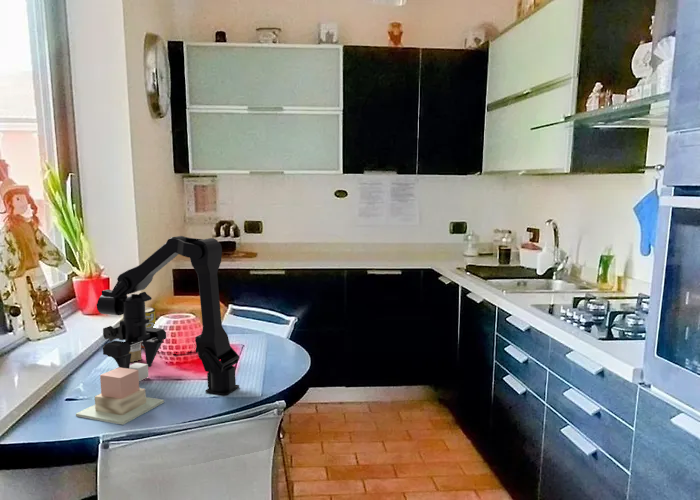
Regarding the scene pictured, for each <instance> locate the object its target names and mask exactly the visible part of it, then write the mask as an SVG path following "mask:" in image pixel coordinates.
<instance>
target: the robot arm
mask: <svg viewBox="0 0 700 500" xmlns="http://www.w3.org/2000/svg"><path fill="white" fill-rule="evenodd" d="M222 254H223V247H222V244H221V242H220V241H218V240H217V239H215V238H213V237H210V238H204V239H202V238H193V237H187V236H183V235H179V236H172V237H169V238H168V239H167V240H166V242H165V243H164V244H163V245H161V246H159V248H157V250H156V251H154V252H153V253H152V254H151V255H149V256H148V257H147V258H146V259H145V260H143V262H141V263H140V264H139V265H136V266H134V267H132V268H130V269H128V270H126V271H124V272H121V273H120V274H119V275H118V276H117V278H116V280H117V282H116V283H115V286H114V287H113V289H112V290H111V289H103V290H101V295H100V296H99V298H98V300H97V303H96V309H97V311H98V313H99V314H101V315H110V316H123V319H122V320H120V321H119V326H117V327H113V326H112V325H109V326H106V327H103V329H102V336H103V338H104V340H108V341H109V342H107V343H105V344H104V345H103V346H102V355H105V356H107V357H109V358H113V360H114V361H115V362H116V363H117V366H118V367H121V368H128V369H129V367H130V365H131V362H130V360H131V354H130V353H129V352H130V350H131V347H132V346H134V345H137V344H140V343H142V344H143V346H144V347H145V348H144V353H145V361H146V363H145V364H148V368H149V367H152V364H153V362H154V360H155V358H156V356H157V353H158V352H159V349H160V347H161V346H162V344H163V343H164V340H166V339H167V331H166V330H165V329H164V328H159V327H158V328H157V327H156V328H149V329H146V323H149V319H146V314H145V307H146V302H148V301H151V300H153V298H152V296H151V295H149V294H148V293H147V292H146V291H144V290H145V289H146V288H147V287H149V285H150V284H151V283H152V281H153V279H154V276H155V275H156V273H158V272H159V271H160V270H162V269H163V268H164V267H165V266H166V265H168V264H169V263H170V262H171V261H172V260H174V259H175V258H176V257H177V256H178V255H180V256H182V257H185V258H189V260H190V264H191V267H192V268H193V270H194V271H195V272H196V274H197V278H198V289H199V299H200V300H199V302H200V310H201V311H200V313H201V314H200V315H201V323H202V331H201V334H199V335H196V336H195V337H194V338H195V340H194V343H195V346H196V350H195V353H197V355H198V359H199V360H200V361H201V363H202V366H203V369H204V371H205V372H207V373H206V374H207V375H206V376H207V378H206V379H207V389H205V390H204V391H205V393H208V394H215V395H222V396H228V395H229V394H231V393H232V392H234V391H235V390H237V389H239V388H240V385H239V384H236V381H237V379H236V366H234V365H236V364H238V363H239V359H240V355H239V354H238V352H237V351H235V349H234V348H233V347H232V346H231V343H230V339H229V336H228V334H227V332H226V331H225V330H226V329H224V327H223V323H222V313H221V301H220V291H219V289H220V288H219V278H218V277H219V276H218V271H219V268H220V266H221V263H222V258H223V257H222ZM140 291H142V292H140ZM137 292H140V293H139V294H137ZM132 342H133V343H132Z"/></svg>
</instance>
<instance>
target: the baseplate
mask: <svg viewBox="0 0 700 500" xmlns="http://www.w3.org/2000/svg"><path fill="white" fill-rule="evenodd" d="M164 403H165V399H160V398H155V397H150V396H149V397H148V396H146V403H145V404H143V405H141V406H139V407H137V408H135V409H133V410H131V411H129V412H127V413H126V414H124V415H118V414H112V413H106V412H101V411H96V410H95V404H93V405H90V406H88V407H87V408H84V409H82V410H80V411H79V412H76V413H75V417H79V418H85V419H88V420H89V419H90V420H94V421H100V422H105V423H112V424H115V425H116V424H117V425H121V426H122V425H123V426H124V425H125V424H127V423H129V422H131V421H133V420H134V419H136V418H138V417H140V416H142V415H144V414H145V413H147V412H149V411H151V410H152V409H154V408H157V407H158V406H160V405H162V404H164Z"/></svg>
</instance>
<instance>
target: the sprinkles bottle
mask: <svg viewBox="0 0 700 500" xmlns="http://www.w3.org/2000/svg"><path fill="white" fill-rule="evenodd" d="M132 343H133V342H132ZM129 353H130V354H131V360H130V363H135V362H134V361H137V362H139V361H138V360H140V361H141V360H142V358H143V357H142V349H141V343H140V344H137V345H134V346H132V347H131V350H130V352H129Z"/></svg>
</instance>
